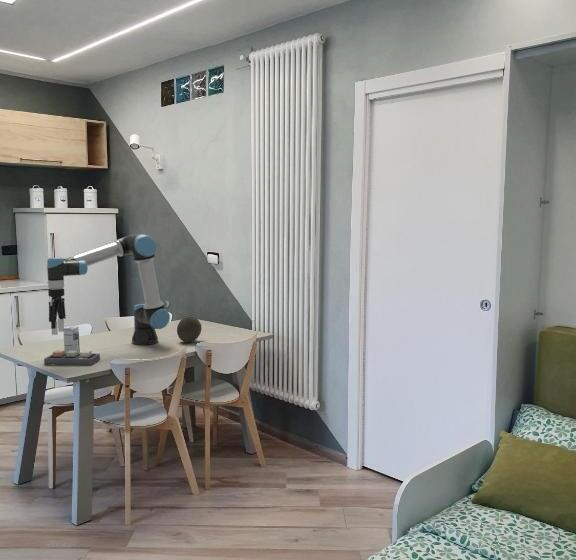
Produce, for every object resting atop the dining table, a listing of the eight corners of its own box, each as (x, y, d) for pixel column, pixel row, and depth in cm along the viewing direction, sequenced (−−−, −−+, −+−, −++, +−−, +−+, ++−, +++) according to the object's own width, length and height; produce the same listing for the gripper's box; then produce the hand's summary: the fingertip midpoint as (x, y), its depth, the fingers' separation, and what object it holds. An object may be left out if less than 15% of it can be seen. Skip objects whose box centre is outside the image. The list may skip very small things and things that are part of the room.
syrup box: (73, 354, 318) (72, 328, 316) (64, 354, 319) (63, 327, 318) (79, 352, 323) (79, 326, 322) (70, 351, 325) (69, 325, 323)
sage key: (78, 354, 304) (78, 350, 304) (75, 356, 299) (74, 352, 299) (69, 354, 304) (69, 350, 304) (66, 356, 300) (66, 352, 299)
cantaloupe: (196, 345, 342) (196, 319, 340) (173, 344, 345) (173, 318, 343) (204, 340, 355) (204, 315, 354) (182, 339, 358) (182, 314, 357)
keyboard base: (100, 359, 308) (99, 352, 307) (91, 365, 296) (91, 358, 295) (54, 359, 308) (54, 352, 308) (44, 364, 297) (44, 357, 296)
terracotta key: (64, 354, 304) (64, 350, 304) (61, 356, 300) (61, 352, 299) (56, 354, 304) (56, 350, 304) (52, 356, 300) (52, 352, 300)
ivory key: (91, 354, 304) (91, 350, 303) (88, 356, 299) (88, 352, 299) (83, 354, 304) (83, 350, 303) (80, 356, 299) (79, 352, 299)
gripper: (57, 285, 308) (59, 329, 311) (39, 290, 288) (41, 337, 291) (71, 286, 308) (73, 329, 310) (55, 291, 288) (56, 337, 290)
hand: (58, 332), depth 301 cm, fingers open, 7 cm apart
